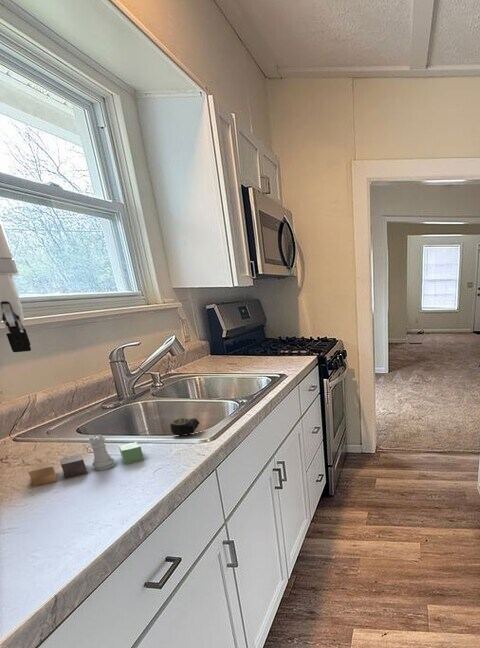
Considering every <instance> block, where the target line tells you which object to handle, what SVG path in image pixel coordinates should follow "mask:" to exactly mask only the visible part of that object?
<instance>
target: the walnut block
mask: <svg viewBox="0 0 480 648" xmlns="http://www.w3.org/2000/svg"><path fill="white" fill-rule="evenodd" d="M59 463H60V466H61V468H62V472H63V475H64V477H65V479H70V478H75V477H78V476H79V477H80V476H82V475H86V474H88V470H87V467H86V463H85V461H84V458H83V455H82V453H81V454H76V455H71V456H67V457H61V458H59Z"/></svg>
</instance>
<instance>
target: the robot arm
mask: <svg viewBox="0 0 480 648" xmlns="http://www.w3.org/2000/svg"><path fill="white" fill-rule="evenodd" d="M14 276H20V274H19V270H18V268H17V265H16V262H15V259H14V256H13V252H12V249H11V247H10V243H9V240H8V237H7V235H6V231H5V229H4V225H3V223H2V220H1V218H0V324H1V323H2V322H3V325H4V328H5V332H6V333H5V335H6V337H7V340H8V343H9V345H10V348H11V352H13V353H23V352H24V353H25V352H31V351H32V348H31V341H30V339H29V336H28V334H27V330H26V328H24V325H23V322H24V321H25V317H24V311H23V307H22V303H21V299H20V296H19V293H18V289H17V287H16V283H15V281H14V278H13V277H14Z"/></svg>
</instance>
